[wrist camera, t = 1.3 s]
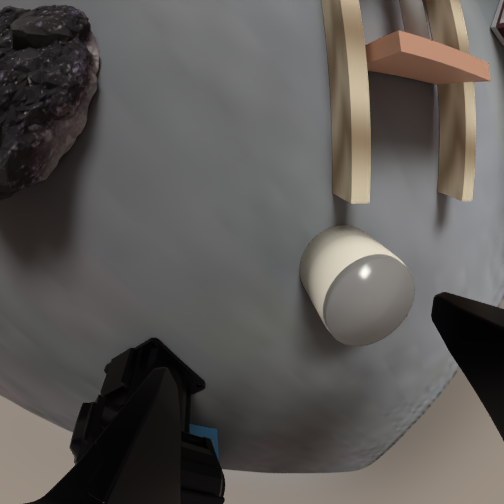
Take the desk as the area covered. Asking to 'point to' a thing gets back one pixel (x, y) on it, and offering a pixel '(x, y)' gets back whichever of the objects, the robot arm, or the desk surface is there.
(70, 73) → the dark rock
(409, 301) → the jar
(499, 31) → the supplement box
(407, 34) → the pusher
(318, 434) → the desk surface
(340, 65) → the lane
